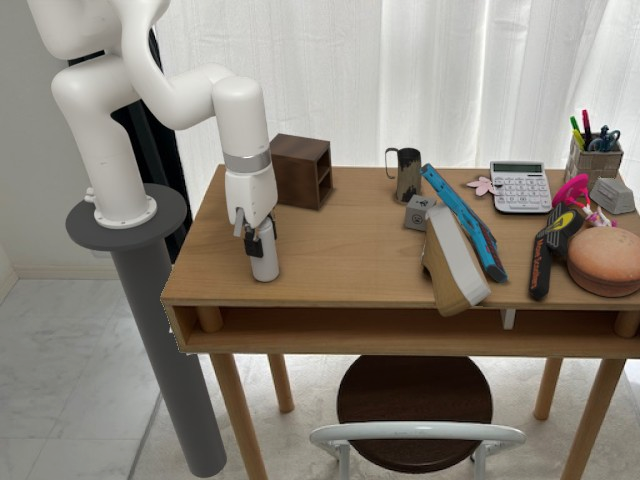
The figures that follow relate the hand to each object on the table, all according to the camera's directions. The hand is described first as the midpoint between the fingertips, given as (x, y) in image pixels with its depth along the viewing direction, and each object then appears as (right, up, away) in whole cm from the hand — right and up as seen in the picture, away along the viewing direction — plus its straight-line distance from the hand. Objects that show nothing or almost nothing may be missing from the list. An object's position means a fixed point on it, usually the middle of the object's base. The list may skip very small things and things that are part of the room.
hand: (261, 246), depth 112 cm
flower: (+45, +17, +28) cm, 56 cm away
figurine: (+61, +14, +20) cm, 66 cm away
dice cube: (+29, +6, +18) cm, 35 cm away
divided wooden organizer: (+3, +14, +26) cm, 29 cm away
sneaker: (+38, +1, +2) cm, 38 cm away
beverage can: (0, -5, +5) cm, 7 cm away
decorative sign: (+52, -1, +9) cm, 53 cm away
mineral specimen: (+73, +12, +20) cm, 76 cm away
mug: (+26, +13, +26) cm, 39 cm away
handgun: (+37, -1, -3) cm, 37 cm away
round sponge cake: (+65, +3, +1) cm, 65 cm away
